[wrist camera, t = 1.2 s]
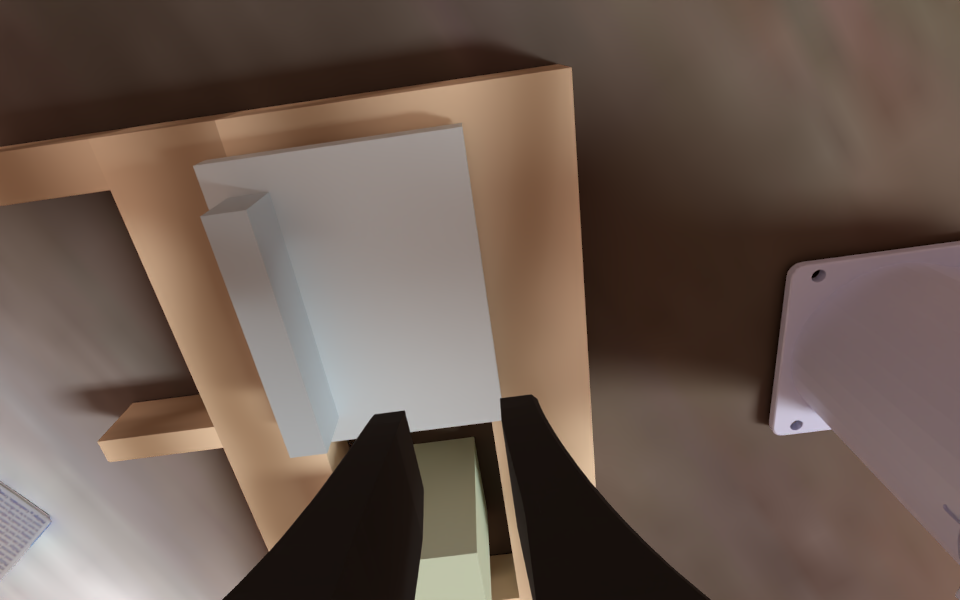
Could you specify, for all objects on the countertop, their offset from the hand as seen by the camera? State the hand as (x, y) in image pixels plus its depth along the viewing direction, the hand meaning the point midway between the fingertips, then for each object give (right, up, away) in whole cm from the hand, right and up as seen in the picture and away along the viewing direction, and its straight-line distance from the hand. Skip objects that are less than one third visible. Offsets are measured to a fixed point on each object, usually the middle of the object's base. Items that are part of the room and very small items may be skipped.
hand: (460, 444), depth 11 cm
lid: (-3, +3, +7) cm, 8 cm away
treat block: (-2, -5, +14) cm, 15 cm away
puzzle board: (-5, -1, +12) cm, 13 cm away
